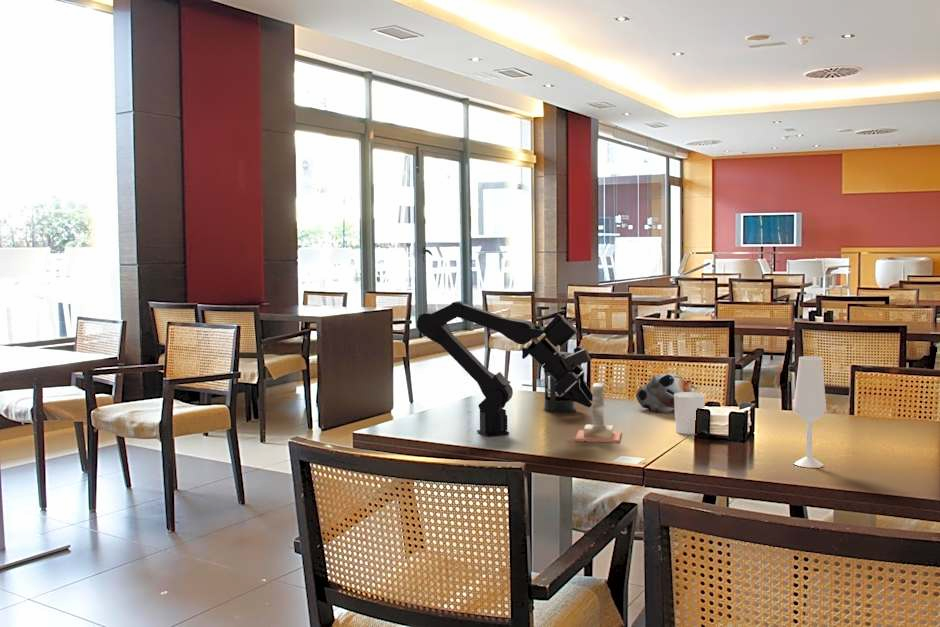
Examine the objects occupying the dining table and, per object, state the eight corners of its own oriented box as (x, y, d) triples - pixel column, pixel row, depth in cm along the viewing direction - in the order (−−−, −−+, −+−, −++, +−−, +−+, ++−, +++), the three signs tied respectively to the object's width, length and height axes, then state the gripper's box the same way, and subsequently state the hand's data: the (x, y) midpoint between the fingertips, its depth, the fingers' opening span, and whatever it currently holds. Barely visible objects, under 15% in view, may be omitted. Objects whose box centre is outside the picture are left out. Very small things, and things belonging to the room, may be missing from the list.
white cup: (702, 429, 236) (702, 392, 235) (707, 435, 228) (707, 397, 228) (671, 428, 237) (672, 391, 236) (675, 435, 229) (676, 396, 228)
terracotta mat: (574, 441, 224) (575, 438, 224) (579, 432, 234) (579, 429, 234) (619, 442, 221) (619, 440, 221) (621, 433, 232) (621, 431, 232)
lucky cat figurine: (677, 404, 272) (695, 367, 265) (684, 427, 261) (703, 389, 255) (631, 392, 270) (648, 354, 264) (637, 414, 259) (655, 375, 253)
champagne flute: (817, 461, 200) (819, 355, 198) (830, 468, 194) (832, 359, 192) (787, 461, 200) (789, 356, 198) (799, 469, 193) (801, 359, 192)
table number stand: (583, 436, 226) (583, 386, 225) (585, 432, 231) (585, 382, 230) (611, 437, 224) (611, 386, 223) (612, 432, 230) (612, 383, 229)
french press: (536, 410, 266) (535, 334, 264) (550, 405, 274) (549, 331, 272) (572, 414, 259) (571, 335, 258) (585, 408, 267) (585, 332, 266)
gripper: (568, 341, 218) (612, 387, 217) (575, 334, 236) (616, 376, 235) (536, 372, 220) (580, 418, 219) (545, 362, 239) (586, 404, 237)
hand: (592, 402), depth 227 cm, fingers open, 9 cm apart
